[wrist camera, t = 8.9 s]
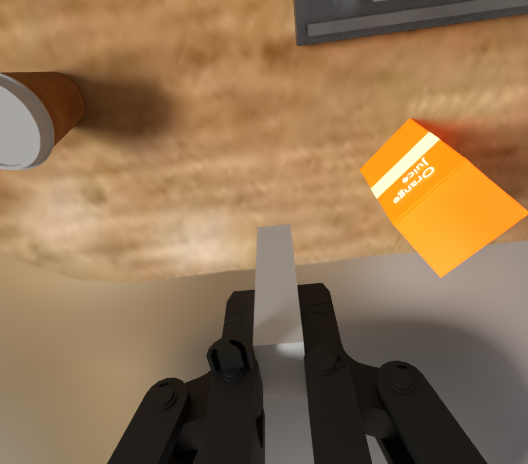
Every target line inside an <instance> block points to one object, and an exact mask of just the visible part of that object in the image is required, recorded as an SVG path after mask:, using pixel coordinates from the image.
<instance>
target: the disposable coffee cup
mask: <svg viewBox="0 0 528 464" xmlns="http://www.w3.org/2000/svg"><path fill="white" fill-rule="evenodd" d="M84 113H85V101H84V98H83V95H82V93H81V91H80V90H79V88H78V87H77V86H76V85H75V83H74V82H72V81H71V80H70V79H69V78H67V77H66V76H64V75H62V74H59V73H56V72H13V73H9V72H7V73H0V169H4V170H26V169H31V168H34V167H37V166H39V165H40V164H42V163H43V162H44V161H45V160H46V159H47V158H48V156H49V155H50V154H51V151H52V148H53V147H54V146H55V145H56V144H57V143H58V142H59V141H60V140H61V139H62V138H63V137H64V136H65V135H66V134H67V133H68V132H69V131H70V130H71V129H72V128H73V127H74V126H75V125H76V124H77V123H78V122H79V121H80V120H81V119H82V117H83V116H84Z"/></svg>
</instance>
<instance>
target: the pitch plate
mask: <svg viewBox="0 0 528 464" xmlns="http://www.w3.org/2000/svg"><path fill="white" fill-rule="evenodd" d="M293 1H294V17H295V32H296V45H297V46H302V45H309V44H316V43H323V42H330V41H338V40H345V39H352V38H359V37H366V36H373V35H380V34H387V33H394V32H401V31H408V30H415V29H422V28H429V27H436V26H443V25H451V24H458V23H465V22H472V21H479V20H486V19H493V18H500V17H507V16H514V15H521V14H528V0H385V1H377V2H373V0H293Z"/></svg>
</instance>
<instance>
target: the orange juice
mask: <svg viewBox="0 0 528 464" xmlns="http://www.w3.org/2000/svg"><path fill="white" fill-rule="evenodd" d="M360 171H361V172H362V174H363V176H364V177H365V179H366V181H367V182H368V184H369V186H370V187H371V190H372V191H373V193H374V195H375V196H376V198H377V199H378V201H379V202H380V204H381V205H382V207H383V209H384V210H385V212H386V214H387V215H388V217H389V219H390V220H391V222H392V224H393V225H394V226H395V227H396V228H397V229H398V230H399V231H400V232H401V234H402V235H403V236H404V237H405V238H406V239H407V240H408V241H409V243H410V244H411V245H412V246H413V247H414V248H415V249H416V250H417V252H418V253H419V254H420V255H421V256H422V257H423V258H424V259H425V261H426V262H427V263H428V264H429V265H430V266H431V267H432V269H433V270H434V271H435V272H436V273H437V274H438V275H439V276H440V277H442V276H444V275H445V274H446V273H448V272H449V271H451V270H452V269H453V268H455V267H456V266H457V265H459V264H460V263H462V262H463V261H464V260H466V259H467V258H469V257H470V256H471V255H473V254H474V253H475V252H477V251H478V250H480V249H481V248H482V247H484V246H485V245H487V244H488V243H489V242H491V241H492V240H493V239H495V238H496V237H498V236H499V235H500V234H502V233H503V232H504V231H506V230H507V229H509V228H510V227H511V226H513V225H514V224H515V223H517V222H518V221H520V220H521V219H522V218H524V217H525V216H526V215H528V211H527V210H526V209H525V208H523V207H522V206H521V205H520V204H519V203H517V202H516V201H515V200H514V199H513V198H511V197H510V196H509V195H508V194H507V193H505V192H504V191H503V190H502V189H501V188H499V187H498V186H497V185H496V184H495V183H493V182H492V181H491V180H490V179H489V178H487V177H486V176H485V175H484V174H483V173H482V172H480V171H479V170H478V169H477V168H476V167H475V166H474V165H473V164H472V163H471V162H470V161H469V160H467V159H466V158H464V157H463V156H462V155H460V154H459V153H458V152H456V151H455V150H453V149H452V148H451V147H449V146H448V145H446V144H445V143H444V142H442V141H441V140H440V139H439V138H438V137H436V136H435V135H433V134H432V133H431V132H428V131H427V130H426V129H424V128H423V127H421V126H420V125H419V124H417V123H416V122H414V121H413V120H412V119H409V120H408V121H407V122H406V123H405V124H404V125H403V126H402V127H401V128H400V129H399V130H398V131H397V132H396V133H395V134H394V135H393V136H392V137H391V138H390V139H389V140H388V141H387V142H386V143H385V144H384V145H383V146H382V147H381V148H380V149H379V150H378V151H377V152H376V154H375V155H374V156H373V157H372V158H371V159H370V160H369V161H368V162H367V163H366V164H365V165H364V166H363V167H362V168H361V169H360Z"/></svg>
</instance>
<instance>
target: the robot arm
mask: <svg viewBox="0 0 528 464" xmlns="http://www.w3.org/2000/svg"><path fill="white" fill-rule="evenodd" d="M224 322H225V323H224V327H223V335H222V338H221V339H220V340H218V341H216V342H214V344H213V345H212V346H211V347H210V348H209V350H208V353H207V355H206V356H207V359H208V362H209V365H210V368H211V371H209V372H208V373H207V374H205V375H203V376H201V377H199V378H197V379H194V380H191V381H189V382H186V383H184V382H183V381H182V380H179V379H177V378H166V379H164V380H161V381H159V382H157V383H156V384H155V385H153V386H152V387H151V388H150V389H149V391H148V392H147V393H146V395H145V396H144V398H143V400H142V402H141V404H140V405H139V408H138V409H137V411H136V413H135V415H134V416H133V418H132V420H131V422H130V424H129V426H128V427H127V429H126V431H125V433H124V434H123V436H122V438H121V440H120V442H119V443H118V445H117V447H116V449H115V451H114V452H113V454H112V456H111V458H110V460H109V462H108V463H107V464H265V414H264V409H263V395H264V398H273V397H288V396H303V395H307V398H308V407H309V417H310V427H311V436H312V446H313V456H314V464H372V461H371V456H370V452H369V448H368V443H367V439H366V435H365V434H367V435H370V436H374V437H375V438H376V440H377V442H378V444H379V446H380V448H381V450H382V452H383V454H384V456H385V458H386V460H387V462H388V464H487V462H486V461H485V460H484V458H483V457H482V456H481V454H480V453H479V451H478V450H477V449H476V447H475V446H474V444H473V443H472V442H471V440H470V439H469V438H468V436H467V435H466V433H465V432H464V431H463V429H462V428H461V427H460V425H459V424H458V422H457V421H456V420H455V418H454V417H453V415H452V414H451V413H450V411H449V410H448V409H447V407H446V406H445V404H444V403H443V402H442V400H441V399H440V398H439V396H438V395H437V393H436V392H435V391H434V389H433V388H432V386H431V385H430V384H429V382H428V381H427V380H426V378H425V377H424V376H423V374H422V373H421V372H420V371H419V370H418V369H417V368H416V367H414V366H412V365H410V364H408V363H406V362H401V361H390V362H387V363H385V364H383V365H382V366H381V367H380V368H377V367H373V366H368V365H364V364H361V363H358V362H357V361H355V360H353V359H352V358H350V357H349V356H348V355H347V353H346V352H345V351H344V349H343V346H342V343H341V339H340V334H339V330H338V326H337V321H336V317H335V313H334V309H333V304H332V299H331V295H330V291H329V290H328V289H327V288H326V287H325V286H324V284H323V283H315V284H304V285H297V281H296V272H295V263H294V254H293V245H292V236H291V227H290V224H288V225H278V226H268V227H258V232H257V256H256V283H255V290H246V291H235V292H233V293H232V295H231V296H230V298H229V299H228V301H227V305H226V314H225V320H224Z"/></svg>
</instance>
